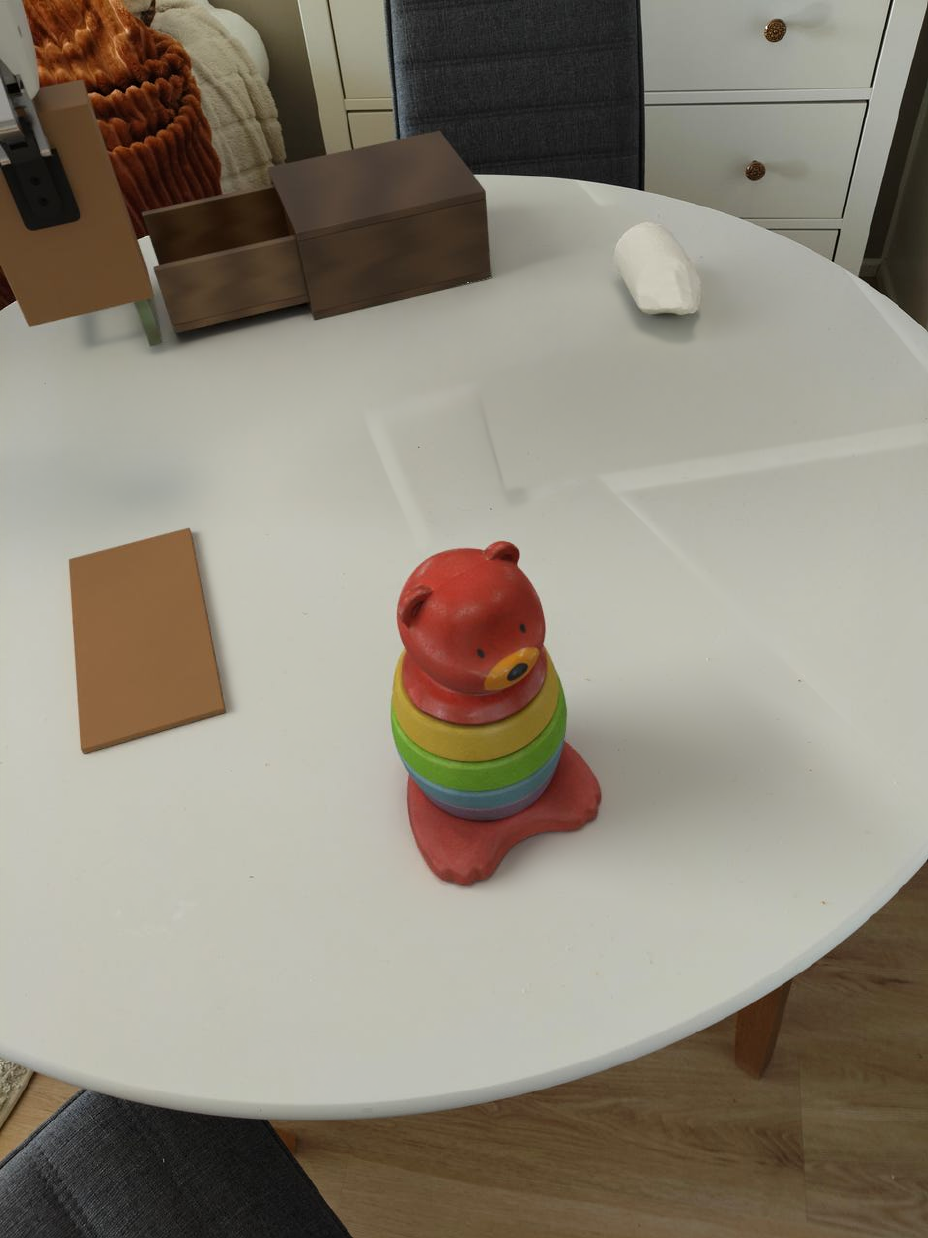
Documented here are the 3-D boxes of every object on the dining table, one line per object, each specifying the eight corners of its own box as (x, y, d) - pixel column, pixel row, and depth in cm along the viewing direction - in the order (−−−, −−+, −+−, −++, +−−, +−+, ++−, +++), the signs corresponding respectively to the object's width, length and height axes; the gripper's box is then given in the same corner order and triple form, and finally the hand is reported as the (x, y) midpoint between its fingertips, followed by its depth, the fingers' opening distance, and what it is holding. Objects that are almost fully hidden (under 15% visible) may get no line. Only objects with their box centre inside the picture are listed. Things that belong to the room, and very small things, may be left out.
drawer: (86, 361, 90) (57, 293, 85) (79, 291, 99) (52, 225, 94) (324, 305, 93) (310, 236, 88) (297, 241, 102) (283, 175, 97)
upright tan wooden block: (29, 327, 63) (-61, 132, 54) (27, 297, 66) (-59, 106, 57) (154, 297, 64) (87, 102, 55) (147, 269, 67) (82, 78, 58)
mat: (71, 563, 73) (68, 559, 73) (191, 531, 75) (189, 527, 74) (83, 754, 62) (80, 749, 61) (226, 712, 63) (224, 707, 63)
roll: (645, 350, 86) (650, 291, 82) (611, 280, 94) (613, 223, 90) (713, 340, 86) (721, 280, 82) (673, 271, 94) (678, 214, 90)
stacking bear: (447, 901, 53) (406, 700, 40) (369, 765, 59) (312, 552, 46) (616, 811, 56) (630, 595, 43) (525, 690, 62) (513, 469, 49)
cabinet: (314, 320, 93) (295, 232, 87) (285, 250, 103) (267, 166, 96) (491, 277, 96) (486, 190, 90) (447, 213, 105) (439, 130, 99)
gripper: (-164, -188, 52) (-11, 166, 65) (-203, -123, 41) (-9, 286, 54) (-17, -211, 53) (103, 142, 66) (-16, -153, 42) (128, 254, 55)
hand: (51, 203), depth 60 cm, fingers closed on upright tan wooden block, 4 cm apart
